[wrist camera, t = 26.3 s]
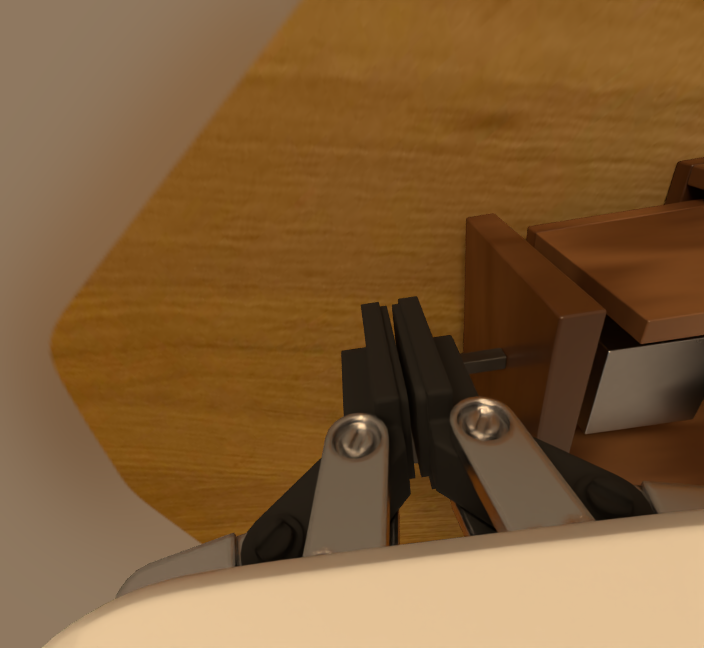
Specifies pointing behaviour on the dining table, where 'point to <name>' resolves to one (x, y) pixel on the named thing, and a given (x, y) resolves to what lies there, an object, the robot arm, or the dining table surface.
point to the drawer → (585, 324)
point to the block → (642, 381)
